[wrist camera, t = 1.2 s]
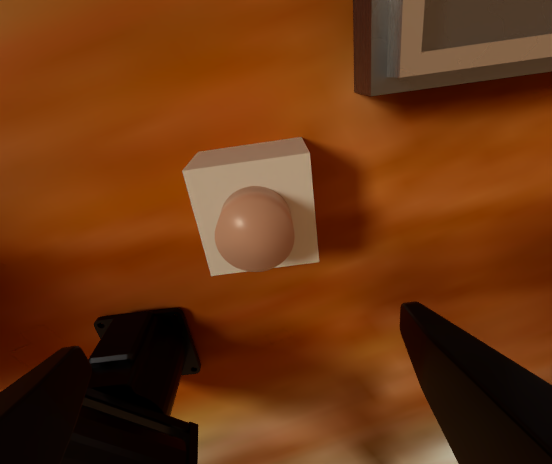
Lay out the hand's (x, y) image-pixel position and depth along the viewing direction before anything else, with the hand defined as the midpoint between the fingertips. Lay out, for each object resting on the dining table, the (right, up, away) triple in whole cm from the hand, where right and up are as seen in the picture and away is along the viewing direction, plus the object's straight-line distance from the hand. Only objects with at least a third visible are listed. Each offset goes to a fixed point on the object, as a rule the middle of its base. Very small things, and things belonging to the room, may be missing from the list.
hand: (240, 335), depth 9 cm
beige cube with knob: (0, +5, +11) cm, 12 cm away
